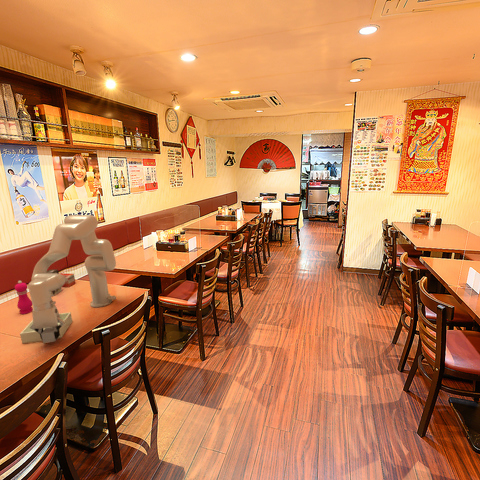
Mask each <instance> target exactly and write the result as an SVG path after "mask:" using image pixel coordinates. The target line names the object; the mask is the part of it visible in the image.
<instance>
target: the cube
mask: <svg viewBox="0 0 480 480" xmlns="http://www.w3.org/2000/svg"><path fill="white" fill-rule="evenodd" d="M54 332H55V331H54V329H53V327H50V328H45V329H44V331H43V332H42V333H41V336H42V340H43V341H42V343H43V344H46V343H53V342H56V341H57V339H55V335H54Z"/></svg>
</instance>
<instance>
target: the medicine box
mask: <svg viewBox="0 0 480 480" xmlns="http://www.w3.org/2000/svg"><path fill="white" fill-rule="evenodd" d="M59 274H62V275H63V276H64V277H65V283H64V285H63V286H62V287H61V288H70V287H72V286H74V285H75V284H76V278H75V273H64V272H63V273H62V272H61V273H59Z"/></svg>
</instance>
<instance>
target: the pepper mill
mask: <svg viewBox="0 0 480 480" xmlns="http://www.w3.org/2000/svg"><path fill="white" fill-rule="evenodd" d="M14 290H15V291H16V295H18V301H17V309H19V313H20V315H26V314H29V313H32V311H33V309H34V308H33V304H32V300H31V298H29V295H28V291H29V290H28V285H27V283H26V282H22V280H18V281H17V283H16V284H15V285H14Z"/></svg>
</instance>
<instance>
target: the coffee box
mask: <svg viewBox="0 0 480 480" xmlns="http://www.w3.org/2000/svg"><path fill="white" fill-rule="evenodd" d="M46 273H57V274H59V269H58V268H57V269H47V272H46ZM62 288H63V287H60V288H59V289H56V290H53V291H51V292H50V294H51V297H54V296H56V295H57V294H59V293H61V292H62V291H63V290H62Z"/></svg>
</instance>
